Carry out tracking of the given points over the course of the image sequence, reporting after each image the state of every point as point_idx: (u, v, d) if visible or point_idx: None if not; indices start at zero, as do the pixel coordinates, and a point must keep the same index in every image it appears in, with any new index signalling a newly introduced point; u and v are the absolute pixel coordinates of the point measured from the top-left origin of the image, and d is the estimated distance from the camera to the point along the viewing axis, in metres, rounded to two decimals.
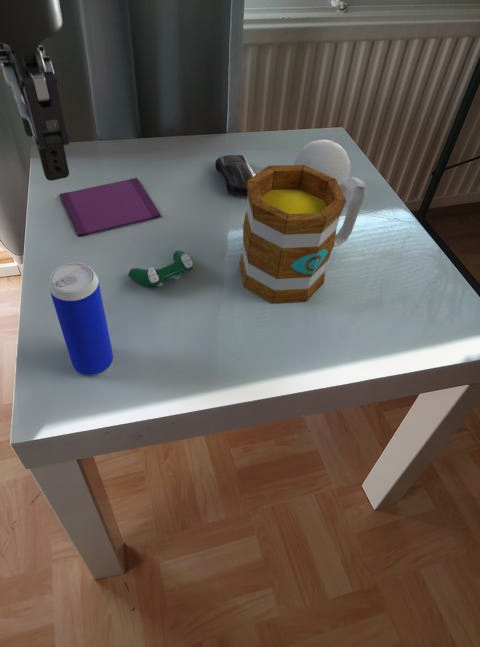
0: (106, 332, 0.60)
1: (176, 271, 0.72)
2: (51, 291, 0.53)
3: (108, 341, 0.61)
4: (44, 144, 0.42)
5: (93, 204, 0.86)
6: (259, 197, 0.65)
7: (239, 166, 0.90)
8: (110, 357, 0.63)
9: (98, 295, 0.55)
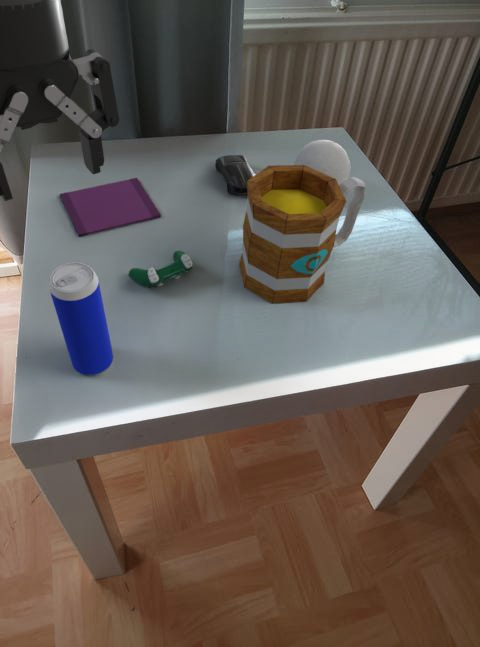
0: (106, 332, 0.60)
1: (176, 271, 0.72)
2: (51, 291, 0.53)
3: (108, 341, 0.61)
4: None
5: (93, 204, 0.86)
6: (259, 197, 0.65)
7: (239, 166, 0.90)
8: (110, 357, 0.63)
9: (98, 295, 0.55)
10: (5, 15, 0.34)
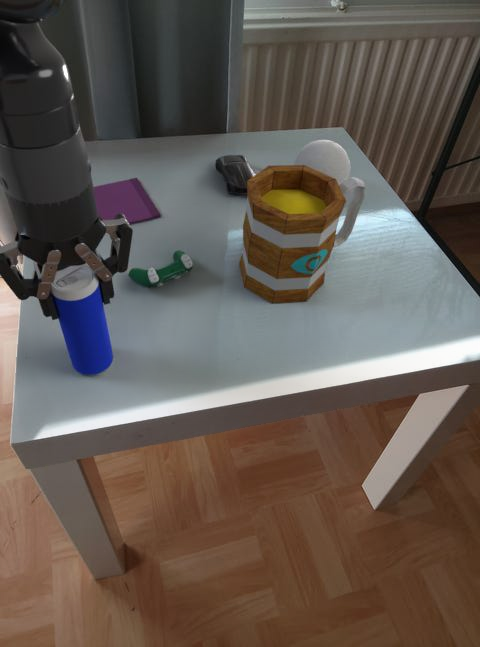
0: (106, 332, 0.60)
1: (176, 271, 0.72)
2: (51, 291, 0.53)
3: (108, 341, 0.61)
4: None
5: None
6: (259, 197, 0.65)
7: (239, 166, 0.90)
8: (110, 357, 0.63)
9: (98, 295, 0.55)
10: (44, 209, 0.43)
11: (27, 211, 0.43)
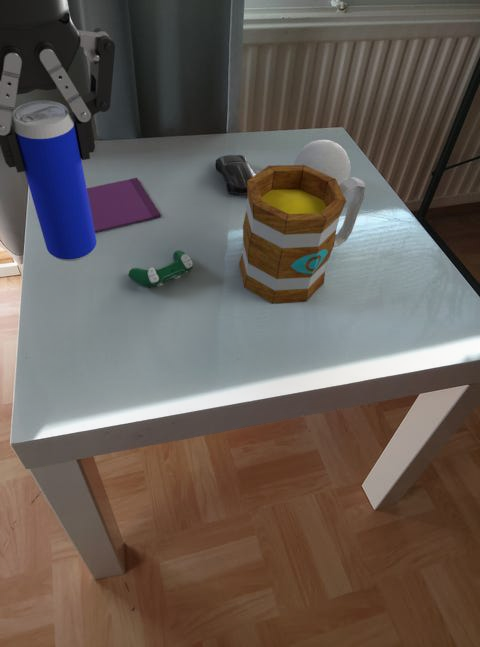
0: (86, 201, 0.49)
1: (176, 271, 0.72)
2: (14, 128, 0.42)
3: (89, 215, 0.51)
4: None
5: (93, 204, 0.86)
6: (259, 197, 0.65)
7: (239, 166, 0.90)
8: (92, 239, 0.53)
9: (74, 141, 0.44)
10: None
11: None
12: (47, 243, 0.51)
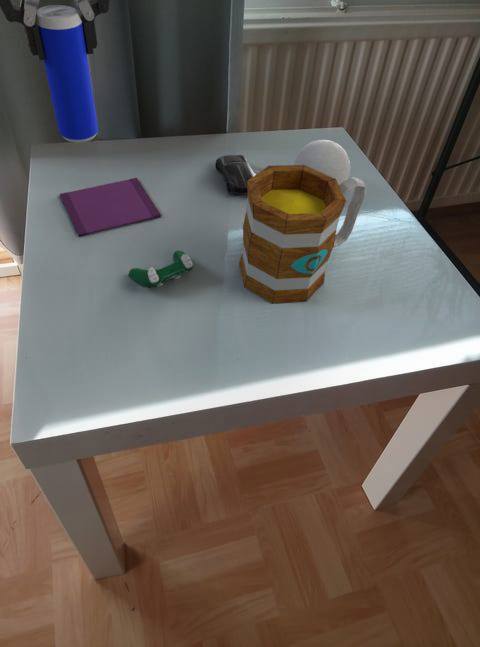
0: (90, 90, 0.64)
1: (176, 271, 0.72)
2: (37, 22, 0.57)
3: (92, 103, 0.65)
4: (2, 10, 0.56)
5: (93, 204, 0.86)
6: (259, 197, 0.65)
7: (239, 166, 0.90)
8: (95, 125, 0.67)
9: (81, 35, 0.59)
10: None
11: None
12: (60, 126, 0.66)
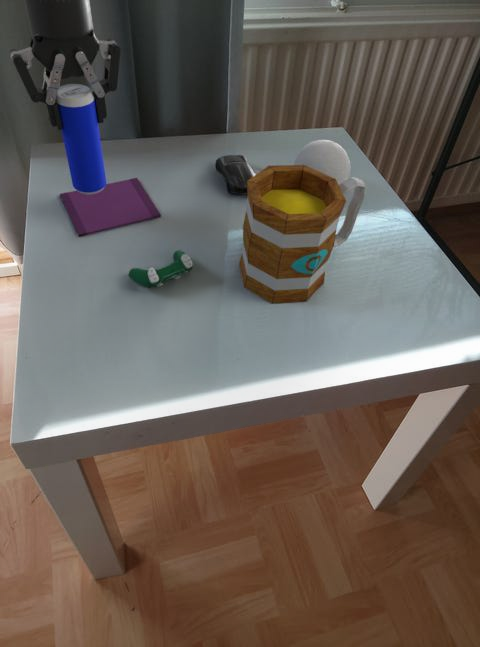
0: (100, 151, 0.75)
1: (176, 271, 0.72)
2: (57, 101, 0.68)
3: (102, 162, 0.76)
4: None
5: (93, 204, 0.86)
6: (259, 197, 0.65)
7: (240, 166, 0.90)
8: (104, 179, 0.78)
9: (94, 109, 0.70)
10: (53, 5, 0.57)
11: (40, 7, 0.58)
12: (74, 181, 0.77)
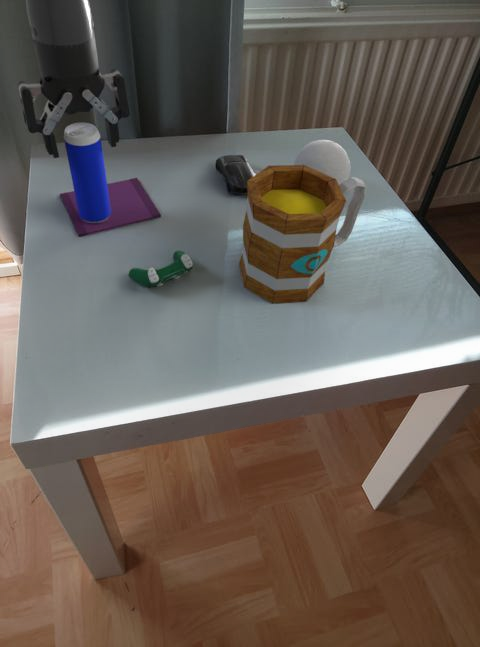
0: (105, 184, 0.79)
1: (176, 271, 0.72)
2: (65, 139, 0.72)
3: (107, 193, 0.80)
4: (25, 122, 0.69)
5: None
6: (259, 197, 0.65)
7: (240, 166, 0.90)
8: (108, 209, 0.82)
9: (100, 147, 0.74)
10: (61, 50, 0.61)
11: (49, 52, 0.61)
12: (80, 211, 0.81)
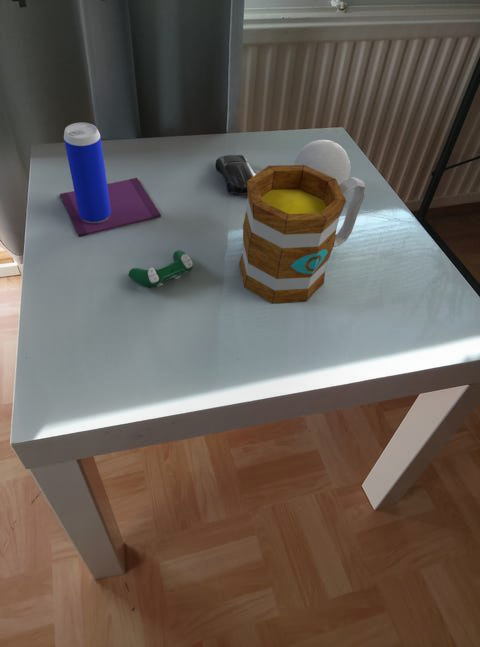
0: (105, 184, 0.79)
1: (176, 271, 0.72)
2: (65, 139, 0.72)
3: (107, 193, 0.80)
4: None
5: None
6: (259, 197, 0.65)
7: (240, 166, 0.91)
8: (108, 209, 0.82)
9: (100, 147, 0.74)
10: None
11: None
12: (80, 211, 0.81)
